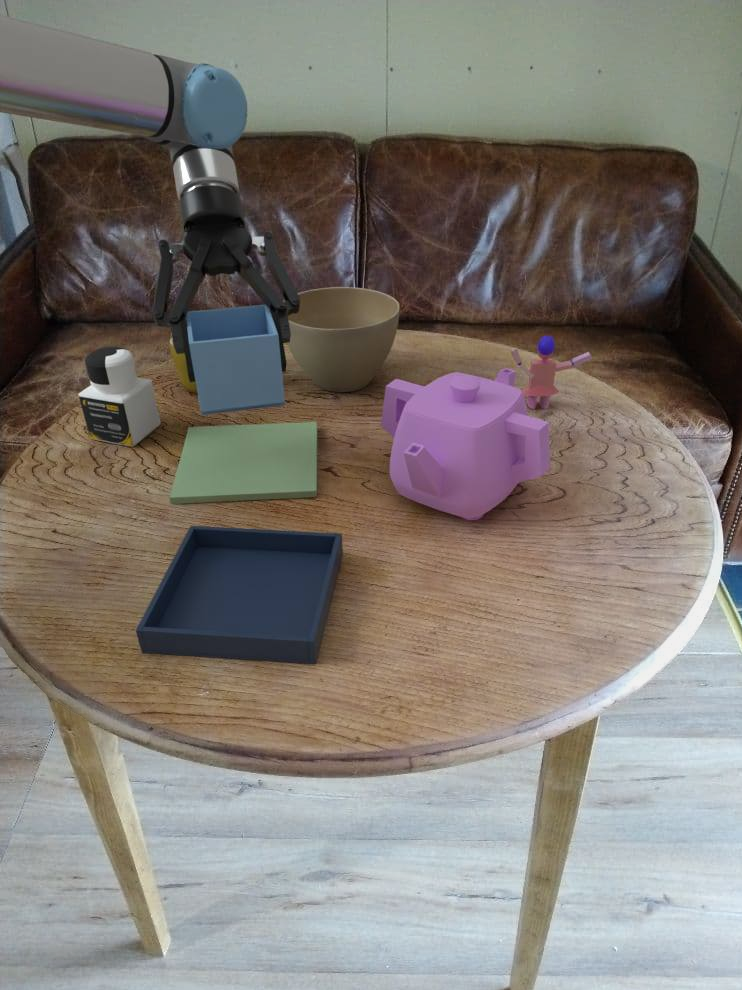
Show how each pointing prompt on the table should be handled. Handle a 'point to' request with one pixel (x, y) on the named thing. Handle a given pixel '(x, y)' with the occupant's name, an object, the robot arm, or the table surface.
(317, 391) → the table surface
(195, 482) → the mat
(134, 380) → the medicine bottle
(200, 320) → the upper bin
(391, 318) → the beige bowl
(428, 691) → the table surface
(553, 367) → the figurine
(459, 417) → the teapot
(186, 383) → the mug
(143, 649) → the lower bin
